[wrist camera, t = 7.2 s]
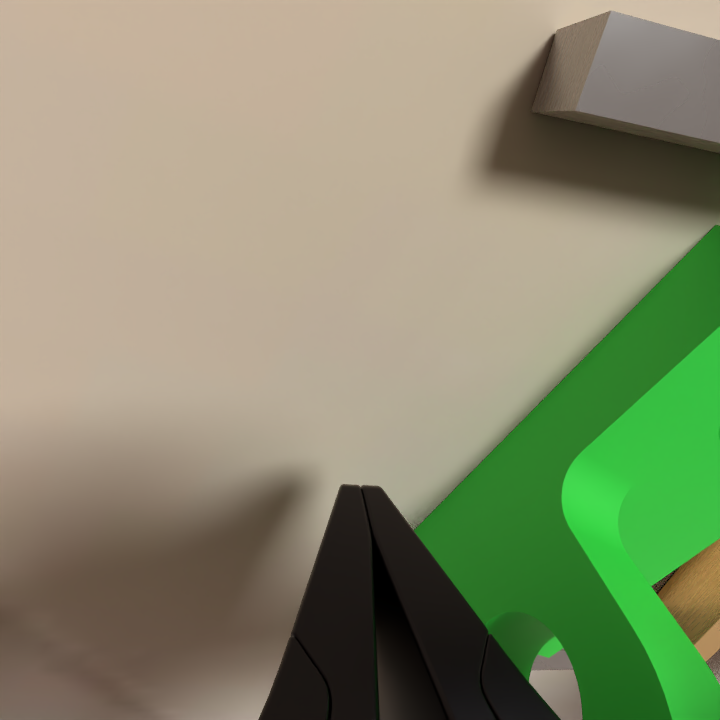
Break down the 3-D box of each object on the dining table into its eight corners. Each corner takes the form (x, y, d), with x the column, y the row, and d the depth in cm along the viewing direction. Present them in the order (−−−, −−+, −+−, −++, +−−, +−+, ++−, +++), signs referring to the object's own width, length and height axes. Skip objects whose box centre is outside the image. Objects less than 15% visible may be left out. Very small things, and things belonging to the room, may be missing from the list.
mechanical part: (522, 598, 16) (690, 978, 9) (391, 550, 14) (474, 1000, 7) (835, 349, 11) (1657, 712, 4) (712, 224, 9) (1905, 539, 2)
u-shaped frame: (1061, 160, 9) (1214, 169, 8) (657, 625, 17) (691, 675, 16) (556, 30, 7) (624, 5, 6) (368, 626, 15) (374, 683, 14)
